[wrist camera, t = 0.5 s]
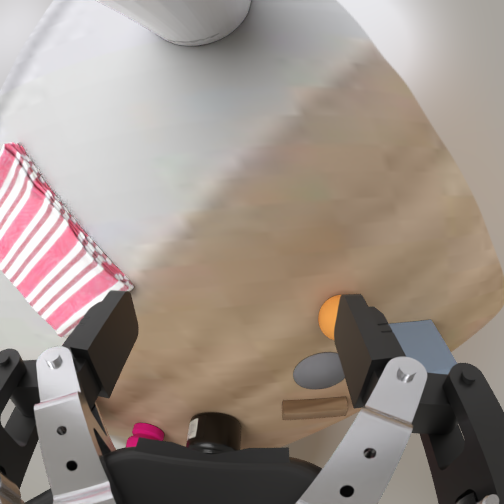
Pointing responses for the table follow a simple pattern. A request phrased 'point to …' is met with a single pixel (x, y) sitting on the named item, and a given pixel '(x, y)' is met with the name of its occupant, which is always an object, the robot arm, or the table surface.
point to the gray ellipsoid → (319, 371)
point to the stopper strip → (314, 408)
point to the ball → (329, 316)
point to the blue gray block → (424, 345)
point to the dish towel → (49, 247)
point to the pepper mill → (144, 433)
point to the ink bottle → (214, 433)
